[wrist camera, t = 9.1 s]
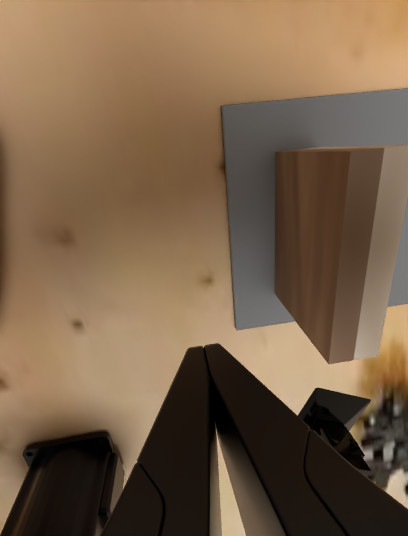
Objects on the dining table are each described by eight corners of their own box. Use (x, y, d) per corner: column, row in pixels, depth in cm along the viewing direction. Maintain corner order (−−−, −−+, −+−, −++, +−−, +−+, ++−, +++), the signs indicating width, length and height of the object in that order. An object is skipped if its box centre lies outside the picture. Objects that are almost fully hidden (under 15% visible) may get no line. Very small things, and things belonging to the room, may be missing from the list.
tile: (274, 293, 19) (328, 364, 13) (275, 151, 16) (350, 151, 9) (308, 288, 20) (377, 356, 13) (316, 147, 16) (417, 144, 10)
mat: (235, 327, 20) (236, 330, 20) (221, 106, 15) (222, 105, 15) (415, 299, 22) (419, 301, 21) (463, 84, 16) (470, 82, 16)
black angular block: (313, 367, 24) (348, 417, 19) (384, 384, 26) (431, 433, 21) (250, 471, 28) (266, 532, 23) (315, 479, 30) (342, 536, 25)
